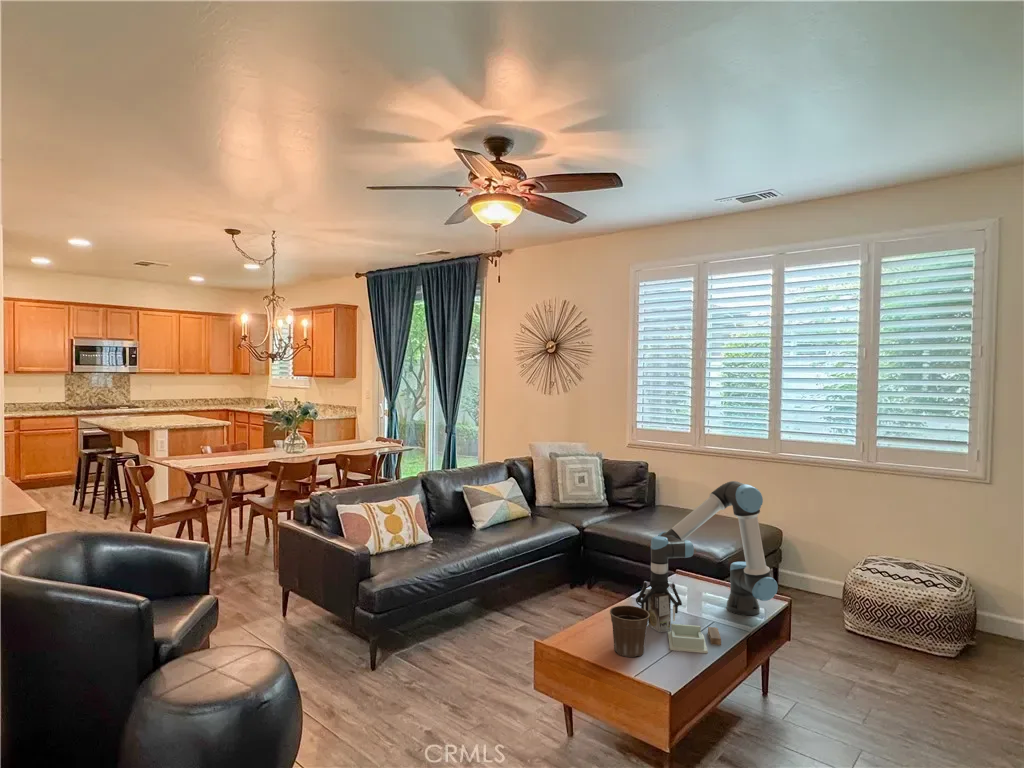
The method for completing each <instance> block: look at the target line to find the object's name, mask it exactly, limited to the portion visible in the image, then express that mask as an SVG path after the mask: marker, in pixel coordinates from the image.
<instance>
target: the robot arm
mask: <svg viewBox="0 0 1024 768" xmlns="http://www.w3.org/2000/svg"><path fill="white" fill-rule="evenodd" d="M763 499H764V498H763V494H762V492H761V491H760V490H759V489H758V488H756V487H754V486H753V485H751V484H747V483H743V482H740V481H736V480H734V481H733V480H731V481H727V482H725V483H723V484H722V485H720V486H718V487H716V489H714V490H713V491H712V492H711V493H709V497H708V498H707V499H705V500H704V501H703V502H702V503H701V504H699V505H698V506H697V507H695V508H694V509H693V510H692V511H691V512H690V513H689V514H687V515H686V516H685V517H684V518H682V519H681V520H680V521H679V522H677V523H676V524H675V525H674V526H673V527H672V528H670V529H669V530H667V531H662V532H659V533H658V535H655V536H653V537H652V538H651V539H650V540H651V541H650V581H647V580H644V581H643V586H642V588H641V591H640V592H639V595H637V597H638V598H637V597H636V598H637V602H638V603H639V604H640V605H641V606H640V608H642V609H645V610H646V603H645V602H646V600H647V599H648V598H649V597H650V596H651V595H652V594H653V593H654V591H655V592H656V593H659V592H660V593H664V592H665V593H666V594H670V595H671V602H672V621H673V622H676V614H678V612H679V611H678V609H679V606H682V605H683V603H682V600H681V598H680V596H679V593H678V591H677V588H676V583H675V582H672V583H669V559H680V558H681V559H683V558H684V559H686V558H691V557H693V555H694V552H695V547H694V544H693V542H692V541H691V540H689V539H687V538H688V537H689V536H690V535H692V533H694V532H695V531H696V530H698V529H699V528H700V527H701V526H702V525H704V524H705V523H707V522H708V520H710V519H711V518H712V517H713V516H715V515H716V514H717V513H718V512H719V511H721V510H722V511H724V510H725V509H727V508H728V507H732V511H733V515H734V516H735V517H737V520H738V525H739V531H740V538H741V542H742V548H743V555H744V560H745V561H734V562H732V563H730V567H729V571H730V572H729V573H730V577H729V578H730V580H729V582H730V585H729V586H730V588H729V590H730V591H729V596H728V598H727V601H726V609H727V611H729V612H731V613H734V614H737V615H742V616H756V615H758V614H759V613H760V611H761V610H760V604H759V602H758V601H762V602H767V601H770V600H772V599H773V598H774V597H775V595H776V594H777V593H778V589H779V588H778V587H779V586H778V582H777V581H776V580H775V578H773V577H772V574H771V573H772V572H771V568H770V567H769V566H767V563H766V559H765V552H764V548H763V542H762V541H763V540H762V535H761V530H760V529H761V528H760V523H759V518H758V516H759V514H761V511H760V510H761V508H762V505H763V503H764V500H763ZM685 539H687V540H685ZM649 586H650V587H651V588H649V589H650V591H649V592H648V593H647V594H646V595H645V597H644V598H643V599H642V596H643V594H644V592H645V590H646V589H647V588H648V587H649ZM669 587H670V589H672V592H673V594H674V596H675V598H674V596H673V595H672V594H671V592H669ZM637 602H636V603H637Z"/></svg>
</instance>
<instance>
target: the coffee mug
mask: <svg viewBox="0 0 1024 768" xmlns="http://www.w3.org/2000/svg"><path fill="white" fill-rule="evenodd" d="M650 589H651V588H646V590H645V592H644V594H643V596H642V598H641V600H642V599H643V598H644V597H645V595H646V594H647V593H648V591H650ZM637 598H638V596H636V598H635V603H636V604H637V605H638V606H639V607H641V603H639V602H637ZM645 603H646V611H648V599H647V600H646V602H645Z"/></svg>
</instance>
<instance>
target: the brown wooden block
mask: <svg viewBox="0 0 1024 768" xmlns="http://www.w3.org/2000/svg"><path fill="white" fill-rule="evenodd" d="M707 633H708V635H707V636H708V637H709V641H710V645H715V646H716V645H717V646H722V638H721V633H720V631H719V628H718V627H713V626H708V627H707Z"/></svg>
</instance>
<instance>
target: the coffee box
mask: <svg viewBox="0 0 1024 768" xmlns="http://www.w3.org/2000/svg"><path fill="white" fill-rule="evenodd" d="M648 592H649V591H648ZM670 594H671V593H670ZM670 594H666V593H665V592H664V593H660V592H659V593H656V592H655V591H654V593H653V594H652V595H651V596H650V597H649V598H648V612H649V614H650V616H649V618H648V625H647V626H649V627H650V628H652V629H653V630H655V631H656V632H658V633H665V632H668V631H671V624H672V623H671V616H672V615H671V614H672V613H671V610H672V609H671V607H672V606H671V602H672V601H671V595H672V594H671V595H670Z"/></svg>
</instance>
